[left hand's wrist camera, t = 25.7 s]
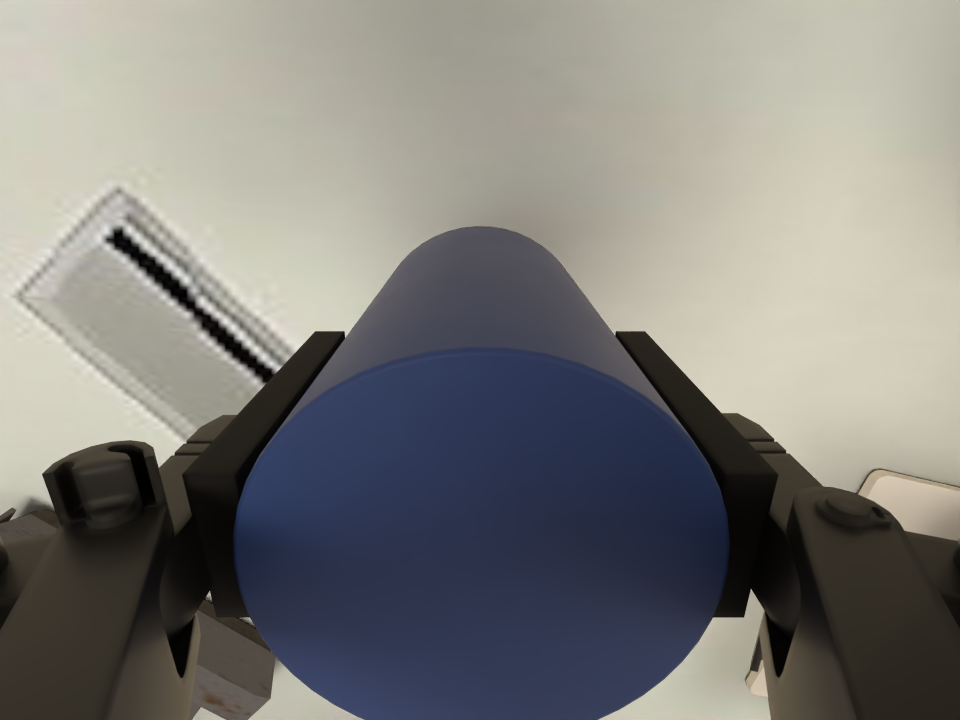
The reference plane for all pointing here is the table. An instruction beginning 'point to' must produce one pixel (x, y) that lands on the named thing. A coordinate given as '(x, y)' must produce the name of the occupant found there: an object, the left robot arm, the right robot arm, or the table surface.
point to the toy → (222, 650)
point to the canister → (481, 504)
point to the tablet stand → (901, 519)
